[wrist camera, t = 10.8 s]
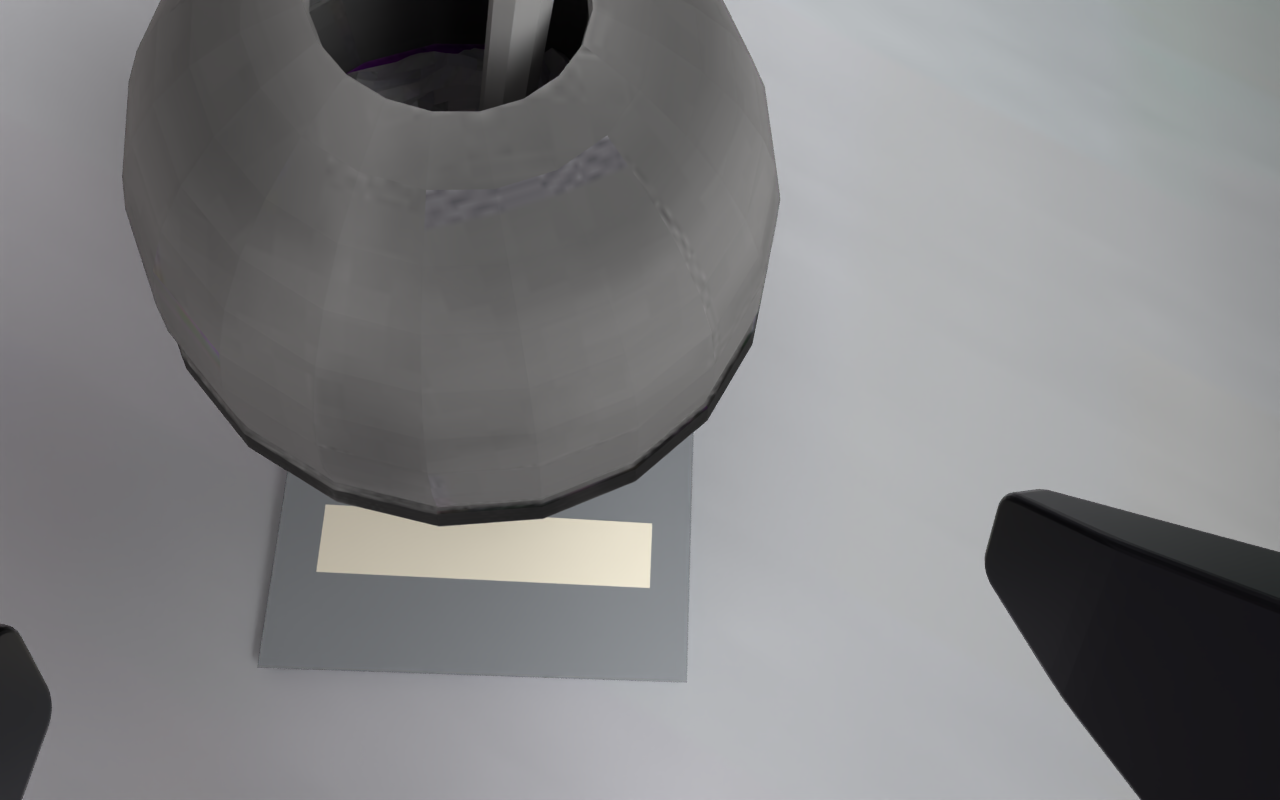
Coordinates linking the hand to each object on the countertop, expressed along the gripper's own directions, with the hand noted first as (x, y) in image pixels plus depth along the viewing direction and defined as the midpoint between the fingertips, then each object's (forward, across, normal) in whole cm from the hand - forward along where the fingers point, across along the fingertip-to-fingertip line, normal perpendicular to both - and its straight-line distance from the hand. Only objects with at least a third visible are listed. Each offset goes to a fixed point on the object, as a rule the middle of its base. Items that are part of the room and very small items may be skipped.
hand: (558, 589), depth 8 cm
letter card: (+13, 0, -6) cm, 14 cm away
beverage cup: (+12, 0, -6) cm, 14 cm away
